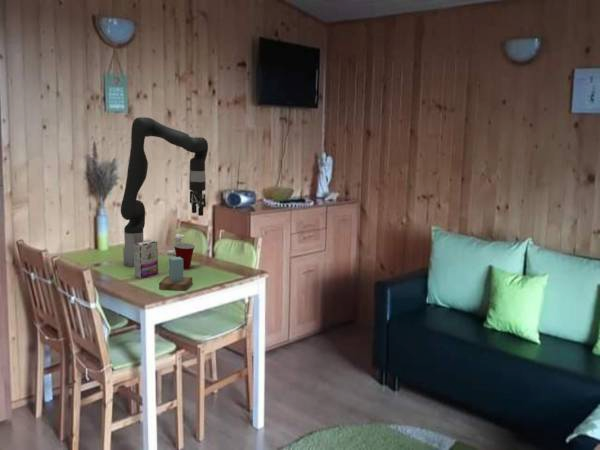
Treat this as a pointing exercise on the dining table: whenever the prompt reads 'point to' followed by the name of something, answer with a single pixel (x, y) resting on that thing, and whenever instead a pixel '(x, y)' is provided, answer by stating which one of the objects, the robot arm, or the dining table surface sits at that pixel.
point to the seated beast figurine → (177, 240)
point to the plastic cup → (184, 253)
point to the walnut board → (175, 284)
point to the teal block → (176, 269)
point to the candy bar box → (145, 259)
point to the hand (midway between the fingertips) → (197, 214)
